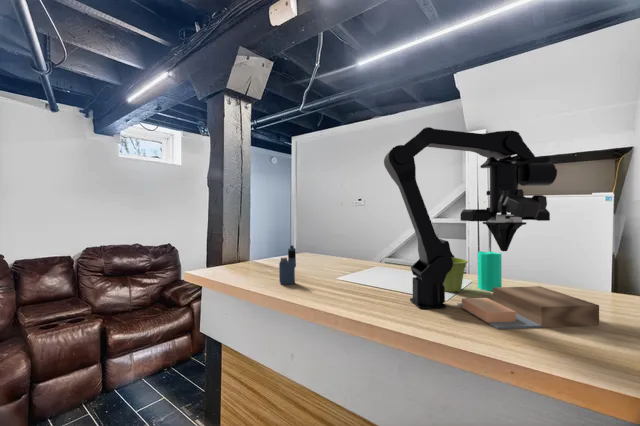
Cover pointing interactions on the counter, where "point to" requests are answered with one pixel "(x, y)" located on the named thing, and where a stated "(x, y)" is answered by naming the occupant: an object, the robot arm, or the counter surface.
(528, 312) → the wooden block
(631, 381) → the counter surface
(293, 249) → the vaping device
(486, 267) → the candle
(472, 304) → the salmon pink brick
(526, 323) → the mat
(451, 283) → the plant pot
